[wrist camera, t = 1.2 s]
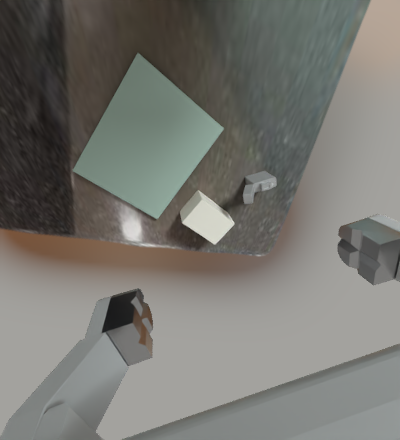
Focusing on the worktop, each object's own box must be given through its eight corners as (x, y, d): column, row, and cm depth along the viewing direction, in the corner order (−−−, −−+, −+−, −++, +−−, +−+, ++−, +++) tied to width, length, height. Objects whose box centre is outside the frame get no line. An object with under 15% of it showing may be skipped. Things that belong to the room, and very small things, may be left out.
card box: (197, 189, 42) (202, 199, 37) (227, 212, 45) (234, 223, 40) (179, 210, 43) (181, 222, 39) (209, 231, 46) (214, 244, 42)
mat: (138, 53, 31) (137, 52, 30) (222, 128, 37) (224, 128, 36) (74, 169, 36) (72, 170, 36) (157, 217, 43) (157, 219, 42)
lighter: (265, 170, 42) (286, 183, 35) (266, 179, 43) (287, 193, 36) (229, 181, 42) (244, 196, 35) (231, 189, 42) (245, 206, 35)
